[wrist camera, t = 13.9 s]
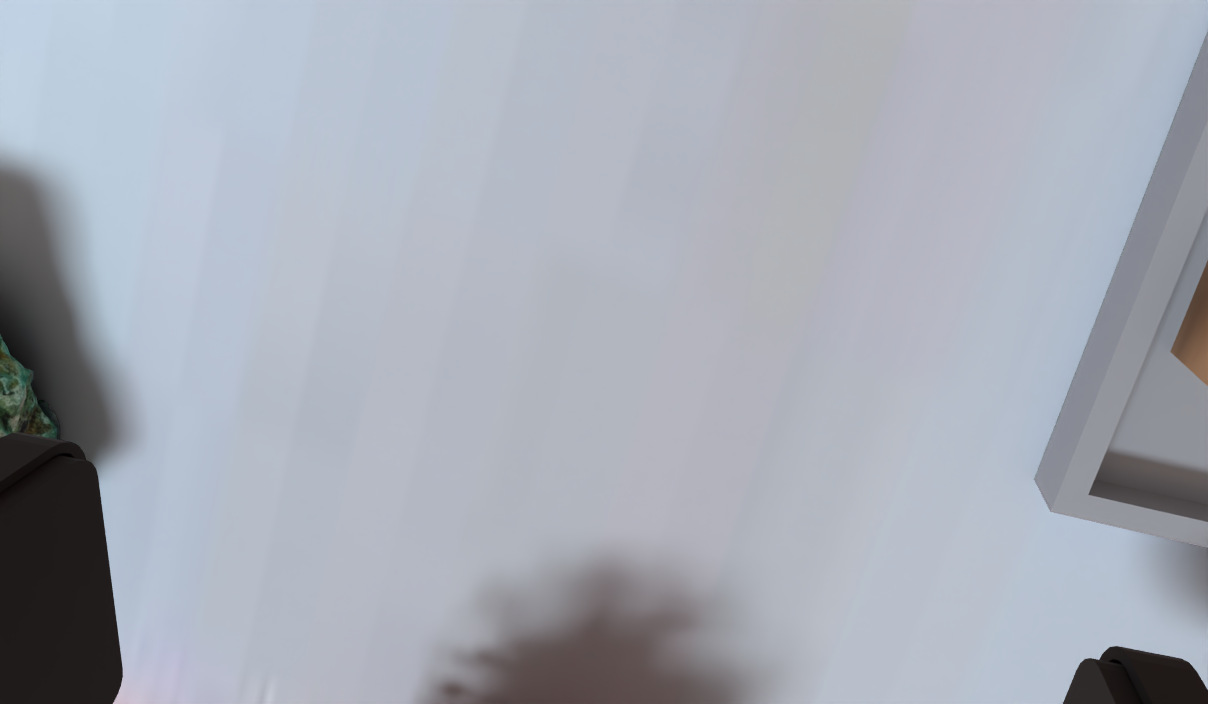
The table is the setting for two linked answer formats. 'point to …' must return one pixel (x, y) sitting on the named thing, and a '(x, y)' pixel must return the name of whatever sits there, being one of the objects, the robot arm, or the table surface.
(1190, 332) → the walnut block
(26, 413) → the mineral
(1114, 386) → the dish low side
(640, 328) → the table surface
